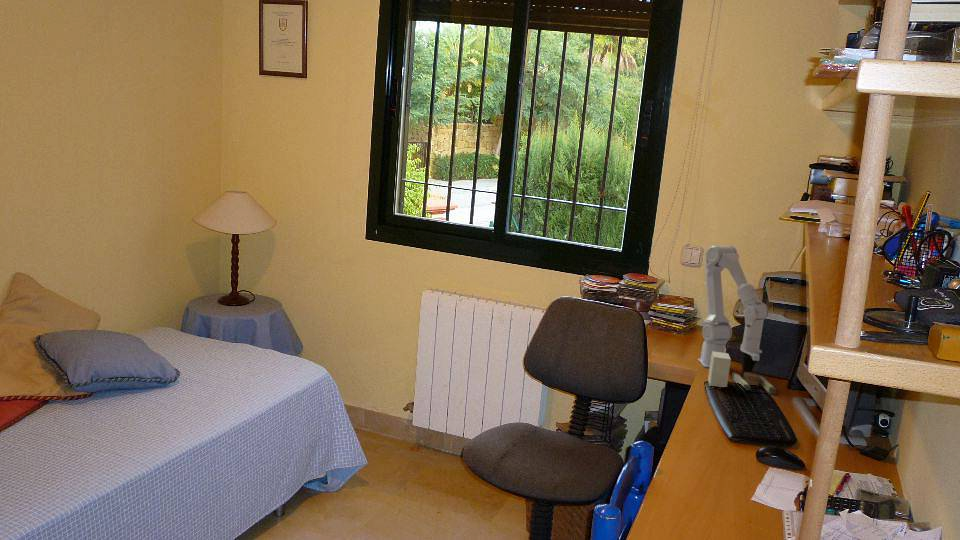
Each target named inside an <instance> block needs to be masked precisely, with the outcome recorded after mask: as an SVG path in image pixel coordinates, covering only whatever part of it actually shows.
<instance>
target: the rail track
mask: <svg viewBox="0 0 960 540" xmlns="http://www.w3.org/2000/svg"><path fill="white" fill-rule="evenodd" d="M757 375H758V376H759V377H760V378H759V384H758V385H761V387H762V388H763V389H764V390H766V392H767V393H768V394H767V395H773V396H774V395H776V393H777V388H776V387H775V386H773V384H771V382H769V381H768V380H767V379H766V378H765V377H764V376H763V375H761V374H757ZM731 379H732V380H733V381H734V382H735V383H736V384H737V383H739V384H741V385H742V386H743V387H744V388H745V389H746V390H751V387H752V386H750V385H749V384H748V383H747V382H746V381H745V380H744V379H743V377H742V376H741V375H740V374H738V373H737V372H732V373H731Z"/></svg>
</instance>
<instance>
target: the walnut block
mask: <svg viewBox="0 0 960 540" xmlns="http://www.w3.org/2000/svg"><path fill="white" fill-rule="evenodd" d="M758 375H759V374H757V373H756V372H751V373H749V372H744V375H743V377H742V378H743V379H744V380H745V381H746V382H747V383H748V384H749V385H757V386H756V387H758V386H759V385H760V384H759V378H760V377H759V376H758Z"/></svg>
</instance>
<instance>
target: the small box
mask: <svg viewBox="0 0 960 540" xmlns="http://www.w3.org/2000/svg"><path fill="white" fill-rule="evenodd" d="M731 362H732V359H731V357H730V354H729V353H727V352H724V353H721V352H714V351H712V355H711V362H710V367H709V371H708V378H707V382H708V385H709V387H710V386H718V387H727V388H728V381H729V377H730V376H729V374H730V369H731Z"/></svg>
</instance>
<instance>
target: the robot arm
mask: <svg viewBox="0 0 960 540" xmlns="http://www.w3.org/2000/svg"><path fill="white" fill-rule="evenodd" d="M739 259H740V254H739V253H738V251H737V248H736V247H735V246H734V245H711V246H709V248H708V249H707V250H706V251H705V264H704V265H705V266H704V274H705V275H704V276H705V289H706V301H707V317H706V318H705V319H704V320H703V321H702V323H703V325H702V330H701V333H702V337H703V339H704V340H703V343H702V346H701V347H702V348H701V353H700V358H697V360H698V362H699V363H700V364H701V365H702V366H703V367H704V368H710V362H711V355H712V351H714V352H721V353H726V352H725V351H726V344H727V343H728V341H729V340H730V339H731V337H732V335H733V329H732V326H731V324H730V319H729V318H728V317H727V316H726V315H725V311H724V310H725V309H724V299H723V298H724V296H723V295H724V294H723V286H722V274H721V273H722V271H723V270H724V269H727V270H728V272H729V274H730V275H731V277H732V278H733V281H734V282H735V284H736V286H737V290H736V292H737V293H736V294H737V295H738V297H739V299H740V302H741V303H742V306H743V308H744V309H743V313H742V314H743V316H744V330H743V331H744V332H743V337H742V341H741V342H742V343H740V347H739V350H740V351H741V352H742V353H739V357H740V360H741V361H740V362H741V369H742V375H743V376H744V372H749V373H752V371H753V368H754V367H755V365H756V363H757V362H760V357H761V355H760V354H762V353H763V350H761V349H760V345H761V339H762V332H763V327H764V320H766V319H767V318H768V317H769V308H768V305H767V304H766V303H764V302H762V300H761V299H760V297H759V296H758V294H757V292H756V287H755V286H754V285H752V284H751V283H748V280H747V278H746V276H745V273H744V271H743V268H742V266H741V263H740V261H739Z"/></svg>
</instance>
